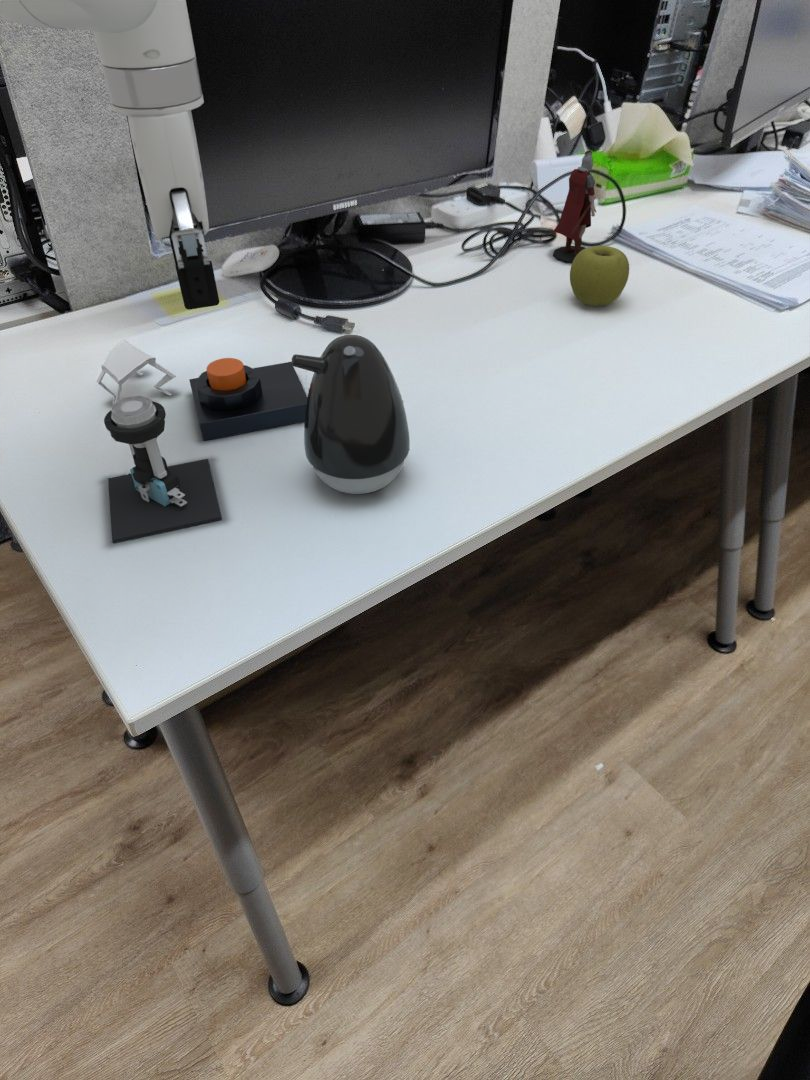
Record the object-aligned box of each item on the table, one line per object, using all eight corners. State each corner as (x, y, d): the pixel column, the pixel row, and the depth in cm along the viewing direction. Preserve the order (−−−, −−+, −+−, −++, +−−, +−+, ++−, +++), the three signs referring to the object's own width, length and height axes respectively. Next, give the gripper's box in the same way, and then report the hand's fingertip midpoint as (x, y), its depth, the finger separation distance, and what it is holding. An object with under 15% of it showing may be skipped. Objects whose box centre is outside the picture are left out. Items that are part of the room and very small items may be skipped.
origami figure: (187, 406, 88) (178, 367, 84) (114, 426, 85) (101, 387, 81) (160, 362, 96) (151, 325, 92) (92, 379, 93) (80, 341, 89)
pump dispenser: (297, 459, 79) (279, 322, 69) (393, 441, 81) (388, 305, 71) (319, 519, 72) (301, 375, 62) (423, 497, 74) (423, 355, 64)
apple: (601, 319, 102) (609, 267, 97) (554, 301, 106) (560, 250, 102) (634, 302, 106) (644, 251, 101) (588, 285, 110) (595, 235, 105)
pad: (113, 543, 70) (111, 540, 70) (109, 481, 77) (107, 478, 77) (222, 519, 72) (221, 516, 72) (208, 461, 79) (207, 458, 79)
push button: (206, 495, 74) (184, 407, 68) (162, 524, 71) (135, 434, 65) (162, 471, 77) (137, 384, 71) (118, 497, 74) (88, 409, 68)
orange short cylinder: (212, 395, 82) (208, 378, 81) (207, 377, 85) (204, 361, 84) (249, 388, 83) (246, 371, 82) (243, 371, 86) (240, 355, 85)
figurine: (605, 258, 118) (621, 152, 108) (567, 268, 115) (580, 161, 105) (577, 244, 122) (591, 142, 112) (540, 253, 120) (551, 149, 110)
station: (203, 441, 82) (196, 409, 80) (193, 395, 89) (185, 364, 87) (312, 420, 85) (308, 388, 82) (293, 377, 92) (289, 347, 89)
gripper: (105, 69, 68) (152, 258, 80) (109, 115, 56) (164, 330, 68) (190, 62, 70) (224, 248, 81) (212, 105, 58) (248, 317, 69)
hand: (197, 285), depth 74 cm, fingers open, 9 cm apart
